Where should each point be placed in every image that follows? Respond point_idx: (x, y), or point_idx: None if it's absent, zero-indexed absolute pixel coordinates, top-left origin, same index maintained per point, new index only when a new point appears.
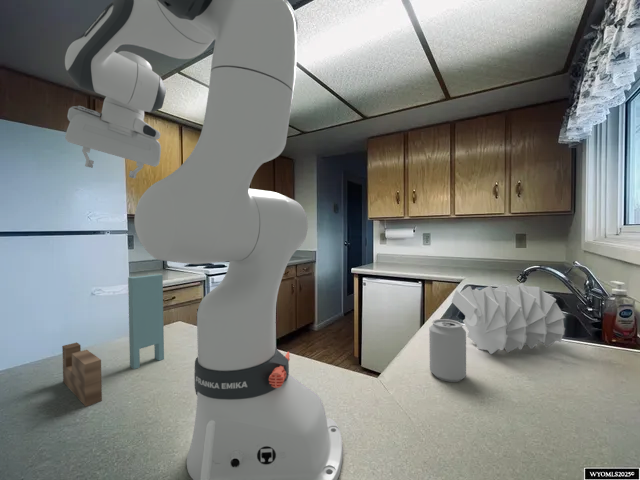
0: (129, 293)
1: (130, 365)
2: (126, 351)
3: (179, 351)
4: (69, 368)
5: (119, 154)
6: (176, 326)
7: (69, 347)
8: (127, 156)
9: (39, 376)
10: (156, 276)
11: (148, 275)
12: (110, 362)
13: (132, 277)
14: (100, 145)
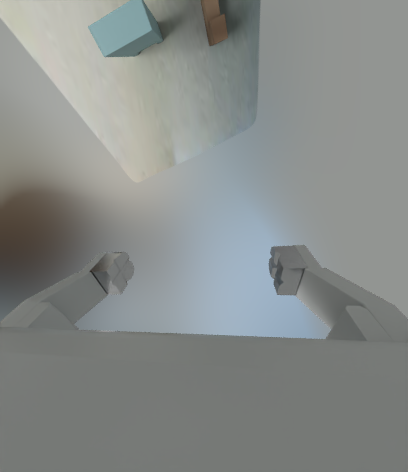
0: (152, 25)
1: (162, 38)
2: (173, 111)
3: (113, 61)
4: (217, 5)
5: (127, 351)
6: (136, 172)
7: (221, 16)
8: (59, 349)
9: (237, 82)
10: (98, 20)
11: (118, 44)
12: (184, 79)
13: (143, 20)
14: (340, 425)
